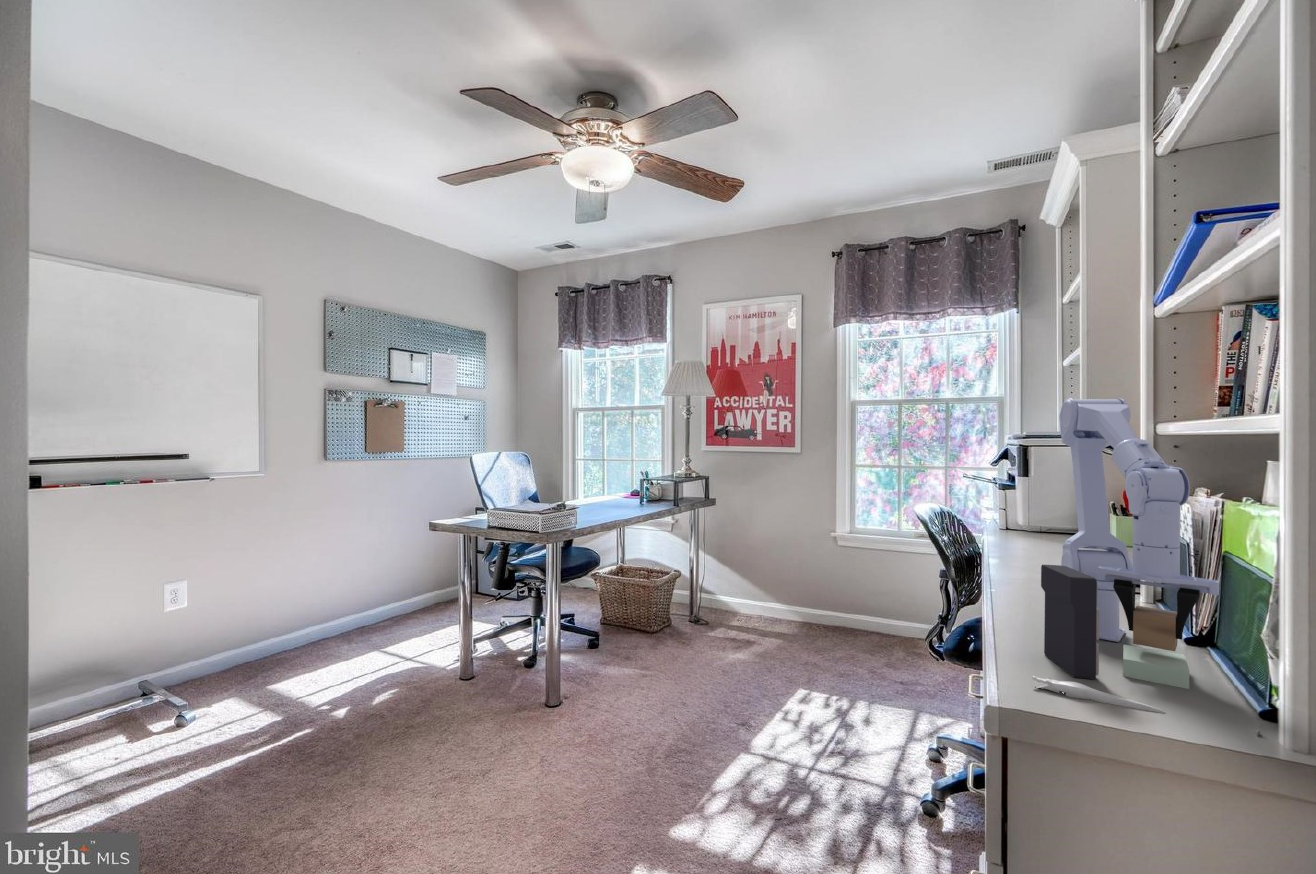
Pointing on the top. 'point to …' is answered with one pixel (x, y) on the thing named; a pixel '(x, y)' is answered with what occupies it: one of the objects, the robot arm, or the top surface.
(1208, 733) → the top surface
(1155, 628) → the walnut cube
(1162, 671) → the block
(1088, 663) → the calculator
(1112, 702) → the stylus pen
